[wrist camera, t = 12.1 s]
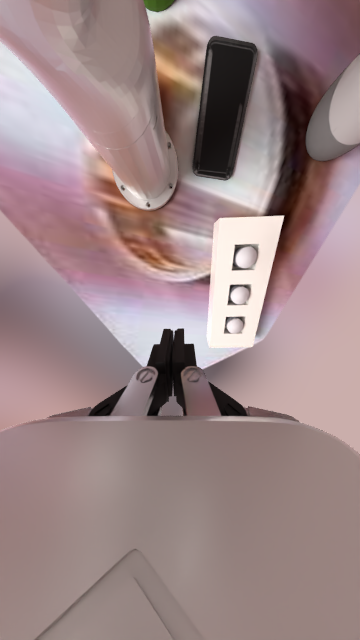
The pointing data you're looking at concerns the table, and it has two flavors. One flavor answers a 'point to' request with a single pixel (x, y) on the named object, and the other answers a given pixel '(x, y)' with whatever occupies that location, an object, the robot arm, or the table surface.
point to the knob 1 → (233, 324)
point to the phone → (223, 105)
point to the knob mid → (238, 294)
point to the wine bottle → (157, 4)
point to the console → (240, 276)
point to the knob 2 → (244, 257)
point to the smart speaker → (337, 117)
